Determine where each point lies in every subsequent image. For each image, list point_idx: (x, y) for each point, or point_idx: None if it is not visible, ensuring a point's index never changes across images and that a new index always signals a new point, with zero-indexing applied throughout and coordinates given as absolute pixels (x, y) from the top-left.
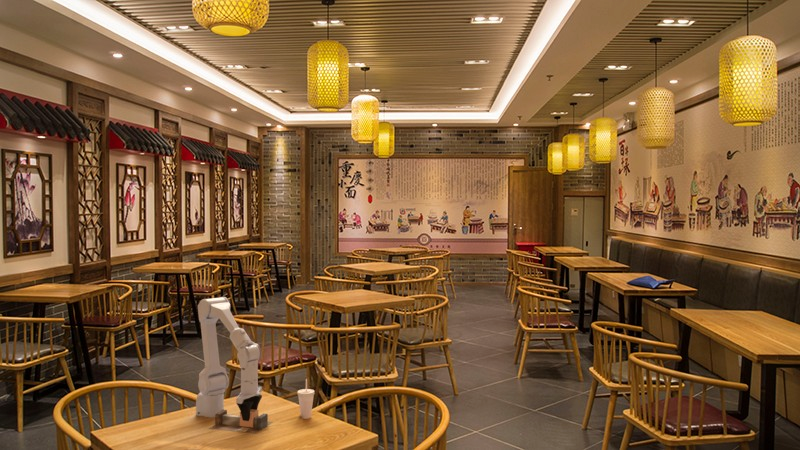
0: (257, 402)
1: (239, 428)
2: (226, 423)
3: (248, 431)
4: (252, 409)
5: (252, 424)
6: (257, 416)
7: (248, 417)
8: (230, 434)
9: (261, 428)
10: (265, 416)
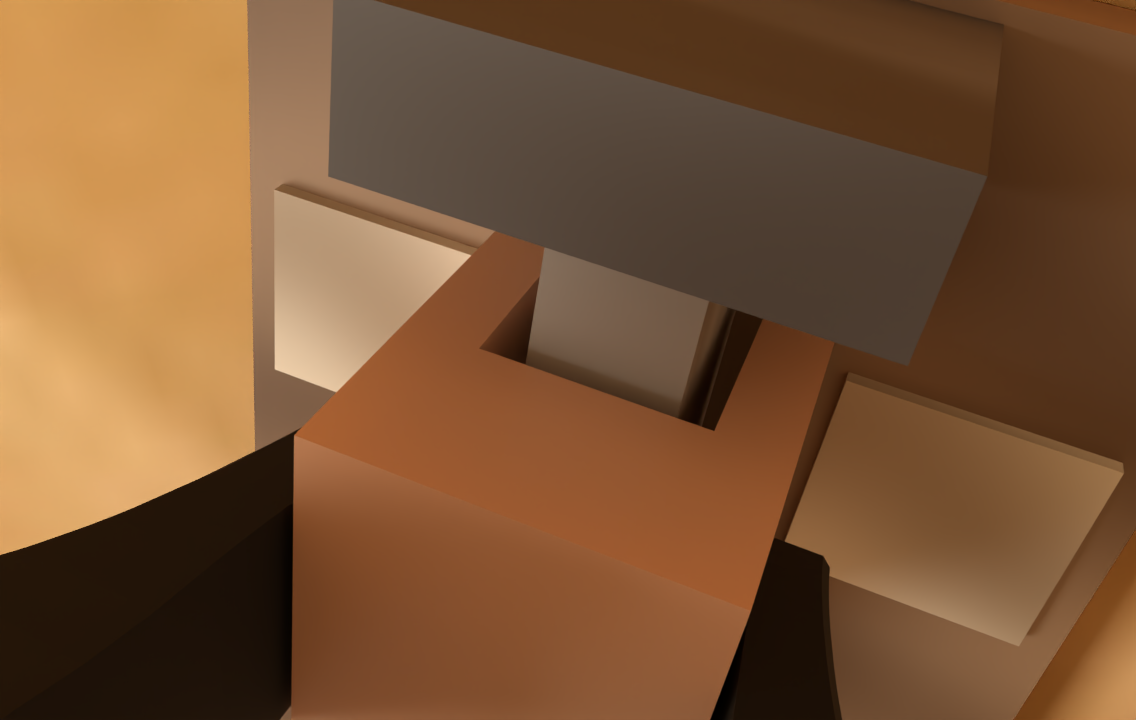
0: (67, 679)
1: (832, 593)
2: None
3: (1105, 378)
4: (315, 617)
5: (827, 364)
6: (470, 334)
7: (830, 633)
8: (1040, 697)
9: (943, 19)
10: (545, 27)
